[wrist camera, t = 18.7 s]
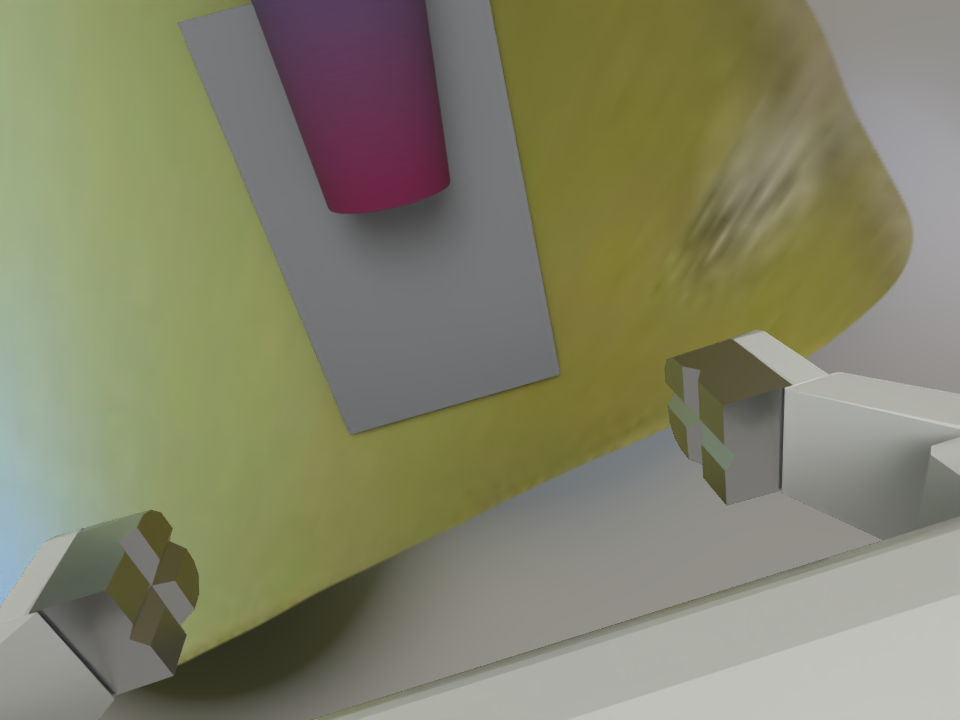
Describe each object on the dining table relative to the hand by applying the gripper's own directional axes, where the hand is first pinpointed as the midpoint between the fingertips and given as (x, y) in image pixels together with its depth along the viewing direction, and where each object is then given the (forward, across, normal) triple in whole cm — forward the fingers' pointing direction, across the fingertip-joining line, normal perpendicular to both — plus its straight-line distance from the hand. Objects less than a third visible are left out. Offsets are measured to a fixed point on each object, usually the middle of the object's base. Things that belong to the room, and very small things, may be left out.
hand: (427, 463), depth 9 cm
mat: (+21, 0, -2) cm, 21 cm away
